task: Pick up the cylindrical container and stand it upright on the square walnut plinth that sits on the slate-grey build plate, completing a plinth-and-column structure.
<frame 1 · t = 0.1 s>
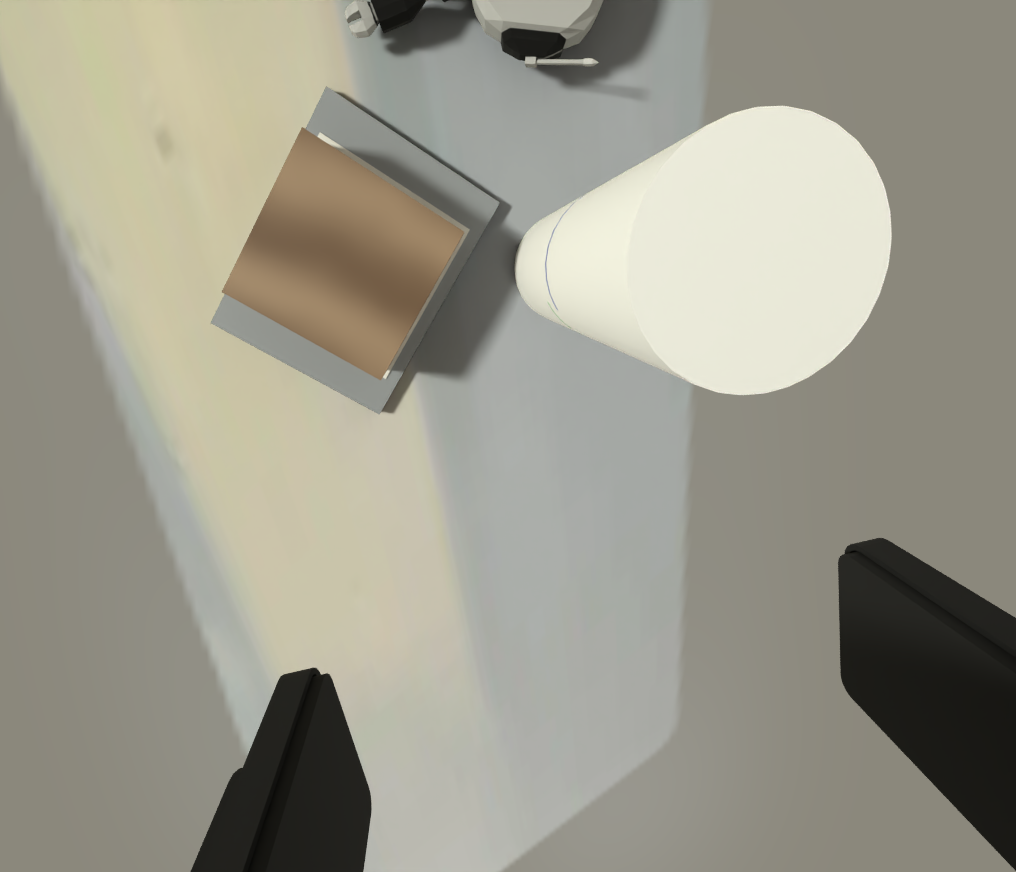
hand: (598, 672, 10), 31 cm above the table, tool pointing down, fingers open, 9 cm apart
cylindrical container: (566, 268, 39), on the table
plinth: (354, 263, 36), point 1 cm above the table, touching build plate
build plate: (356, 263, 37), on the table
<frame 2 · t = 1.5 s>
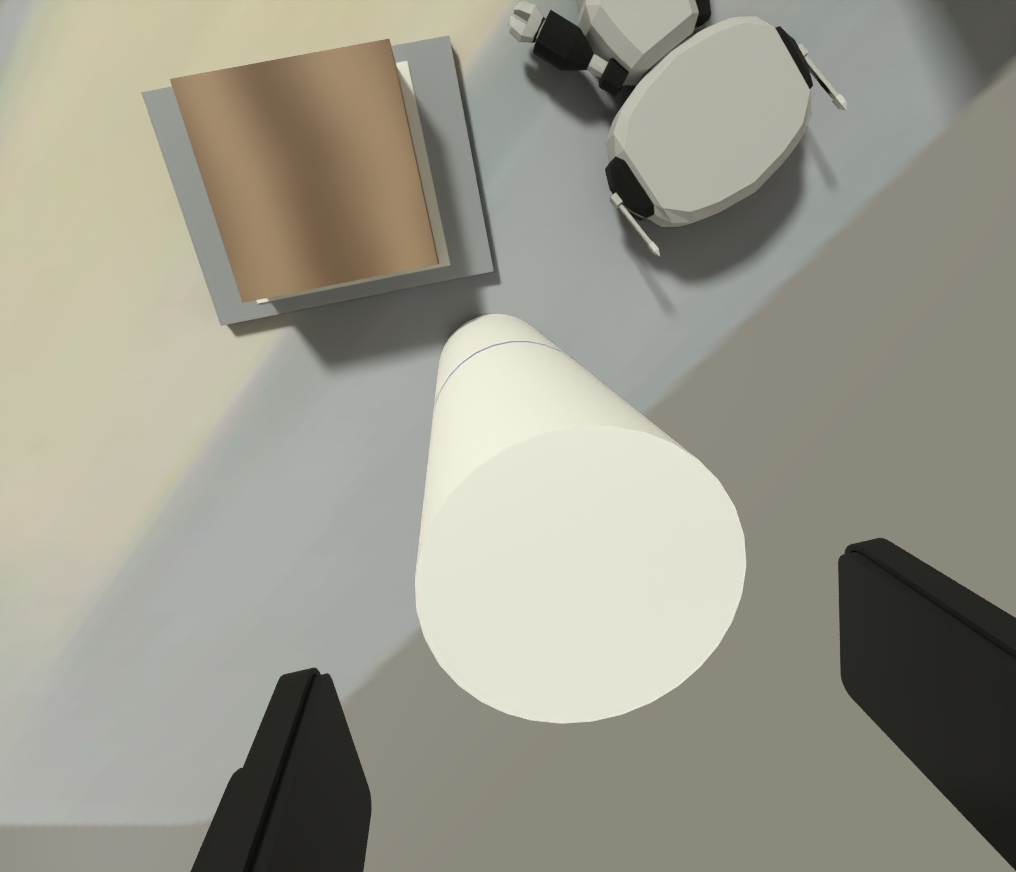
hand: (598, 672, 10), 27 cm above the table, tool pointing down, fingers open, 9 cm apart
cylindrical container: (495, 371, 36), on the table
plinth: (329, 187, 31), point 1 cm above the table, touching build plate
build plate: (332, 189, 32), on the table
robot toy: (654, 89, 33), on the table
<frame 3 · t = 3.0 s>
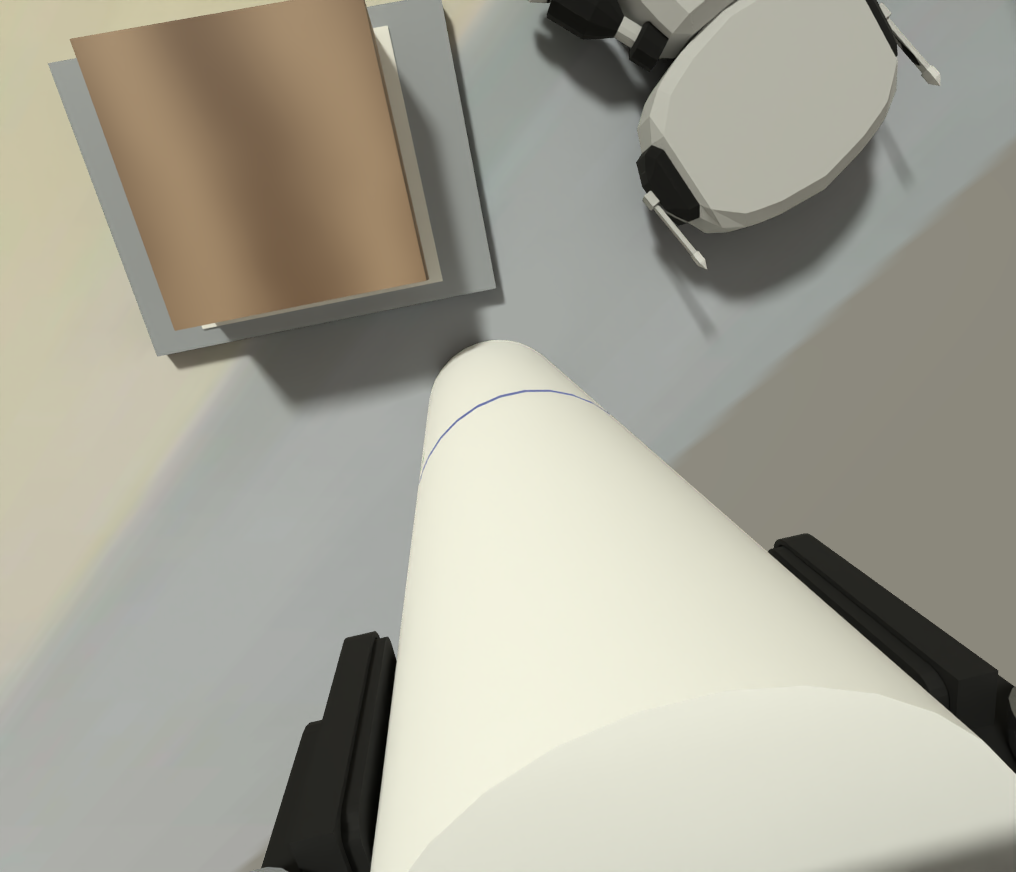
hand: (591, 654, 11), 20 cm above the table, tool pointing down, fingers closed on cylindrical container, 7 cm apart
cylindrical container: (498, 408, 30), on the table, touching gripper
plinth: (290, 184, 25), point 1 cm above the table, touching build plate
build plate: (295, 187, 26), on the table
robot toy: (694, 64, 27), on the table
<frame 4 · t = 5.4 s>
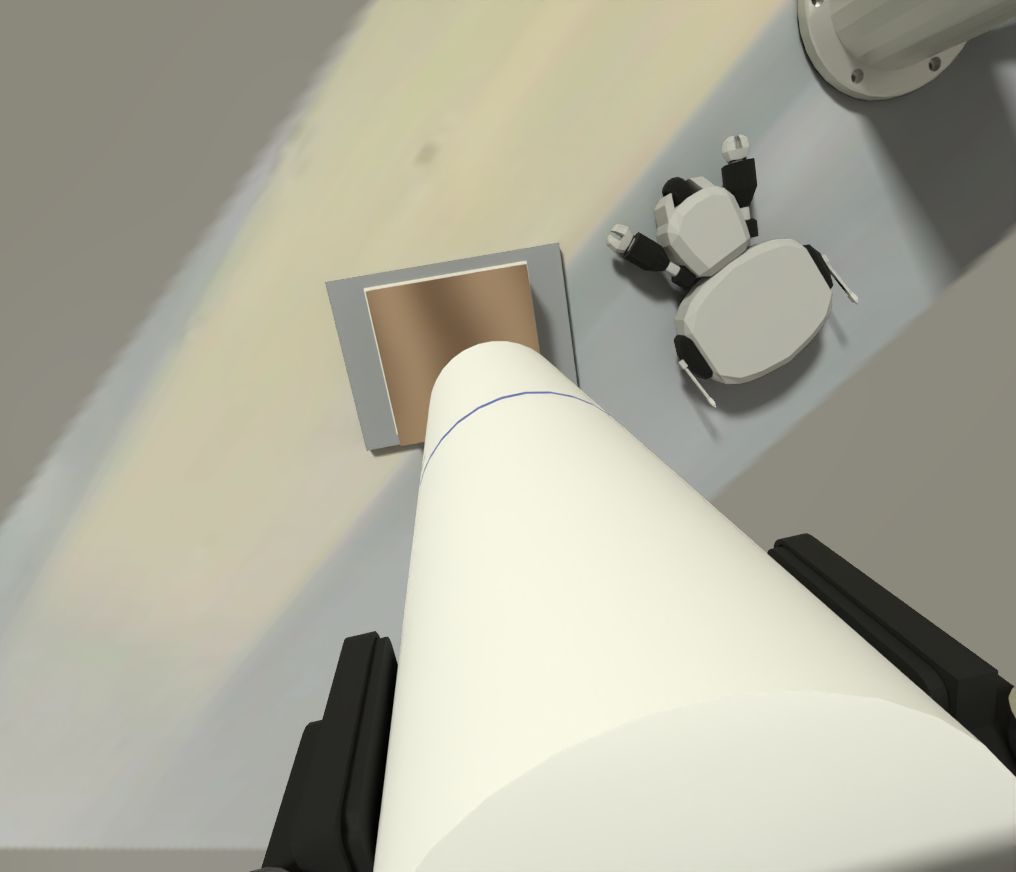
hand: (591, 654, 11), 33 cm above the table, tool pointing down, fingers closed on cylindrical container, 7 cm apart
cylindrical container: (498, 409, 30), point 12 cm above the table, touching gripper
plinth: (459, 350, 40), point 1 cm above the table, touching build plate
build plate: (459, 348, 41), on the table
robot toy: (710, 274, 42), on the table
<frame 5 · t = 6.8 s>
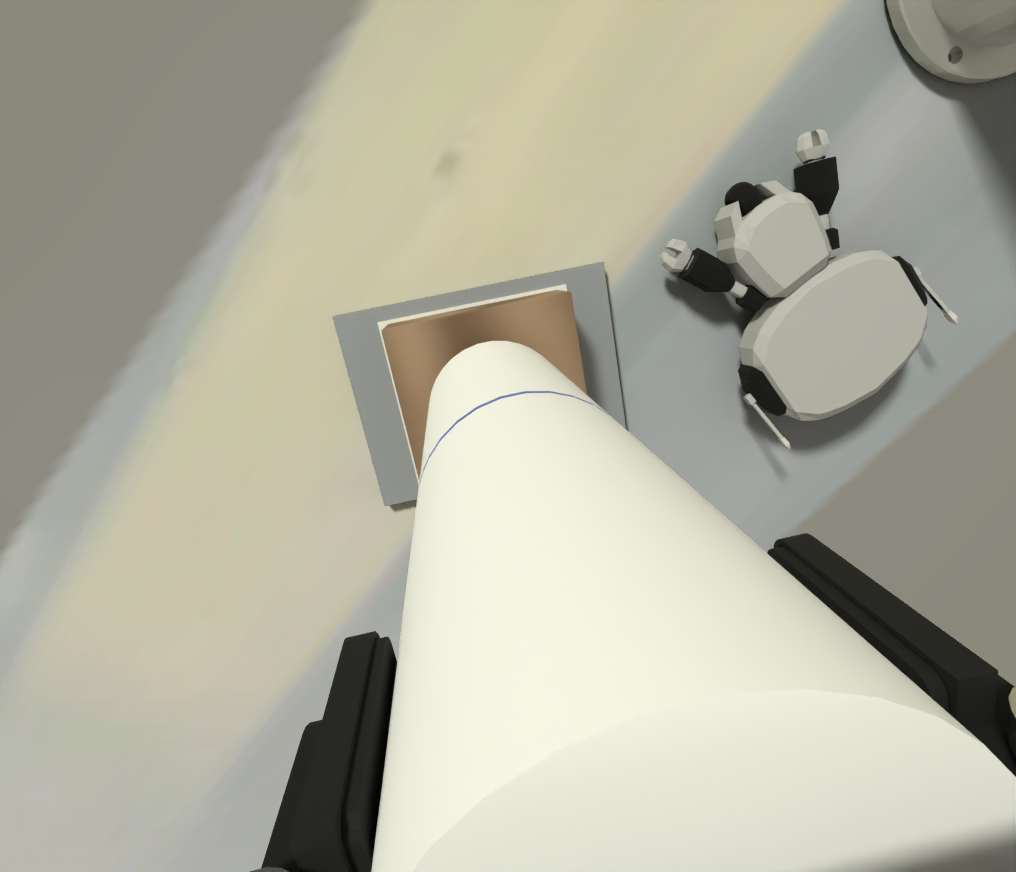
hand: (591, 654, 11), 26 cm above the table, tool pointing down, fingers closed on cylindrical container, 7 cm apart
cylindrical container: (498, 409, 30), point 6 cm above the table, touching gripper
plinth: (490, 389, 35), point 1 cm above the table, touching build plate
build plate: (488, 386, 36), on the table
robot toy: (776, 292, 36), on the table
when the fingers open (26 cm above the table, at t = 7.8 s): cylindrical container stays where it is, resting on plinth.
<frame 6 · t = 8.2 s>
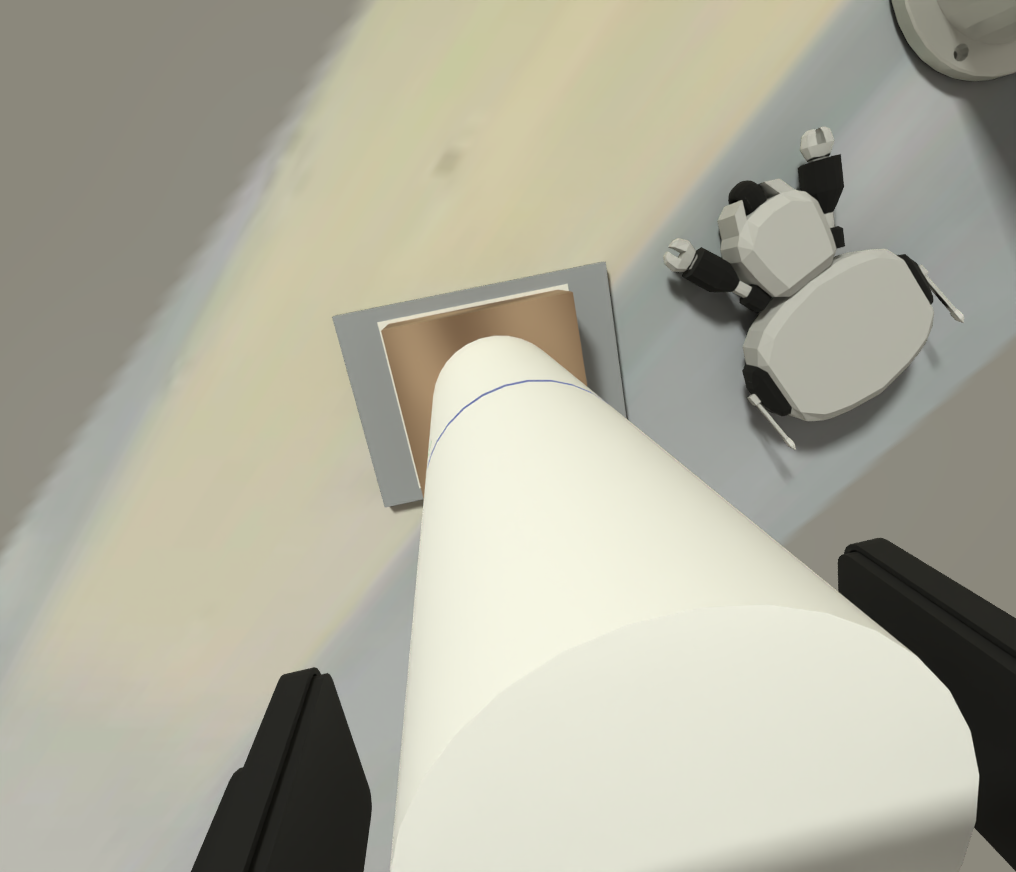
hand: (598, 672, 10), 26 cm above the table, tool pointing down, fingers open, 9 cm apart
cylindrical container: (499, 401, 31), point 5 cm above the table, touching plinth
plinth: (490, 389, 34), point 1 cm above the table, touching build plate, cylindrical container
build plate: (489, 386, 35), on the table
robot toy: (780, 291, 36), on the table
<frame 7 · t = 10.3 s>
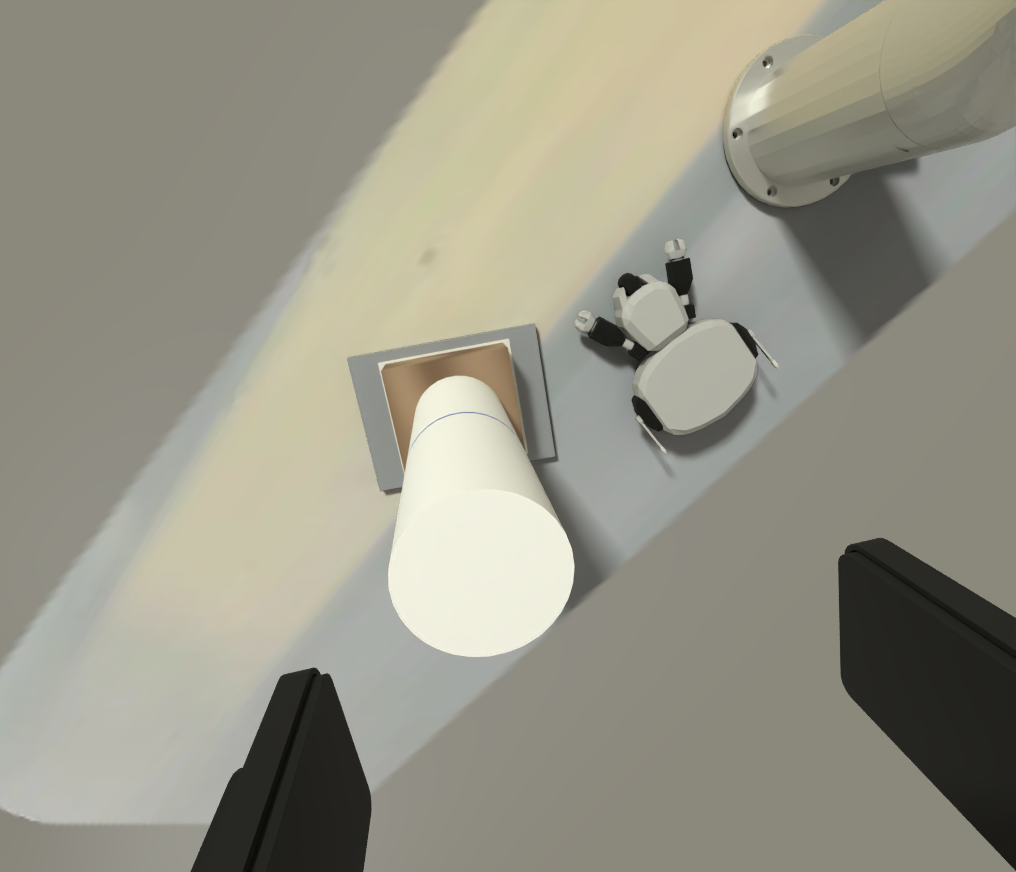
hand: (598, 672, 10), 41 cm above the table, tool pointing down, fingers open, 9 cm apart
cylindrical container: (459, 419, 46), point 5 cm above the table, touching plinth
plinth: (455, 409, 50), point 1 cm above the table, touching build plate, cylindrical container
build plate: (455, 407, 51), on the table
robot toy: (661, 343, 52), on the table
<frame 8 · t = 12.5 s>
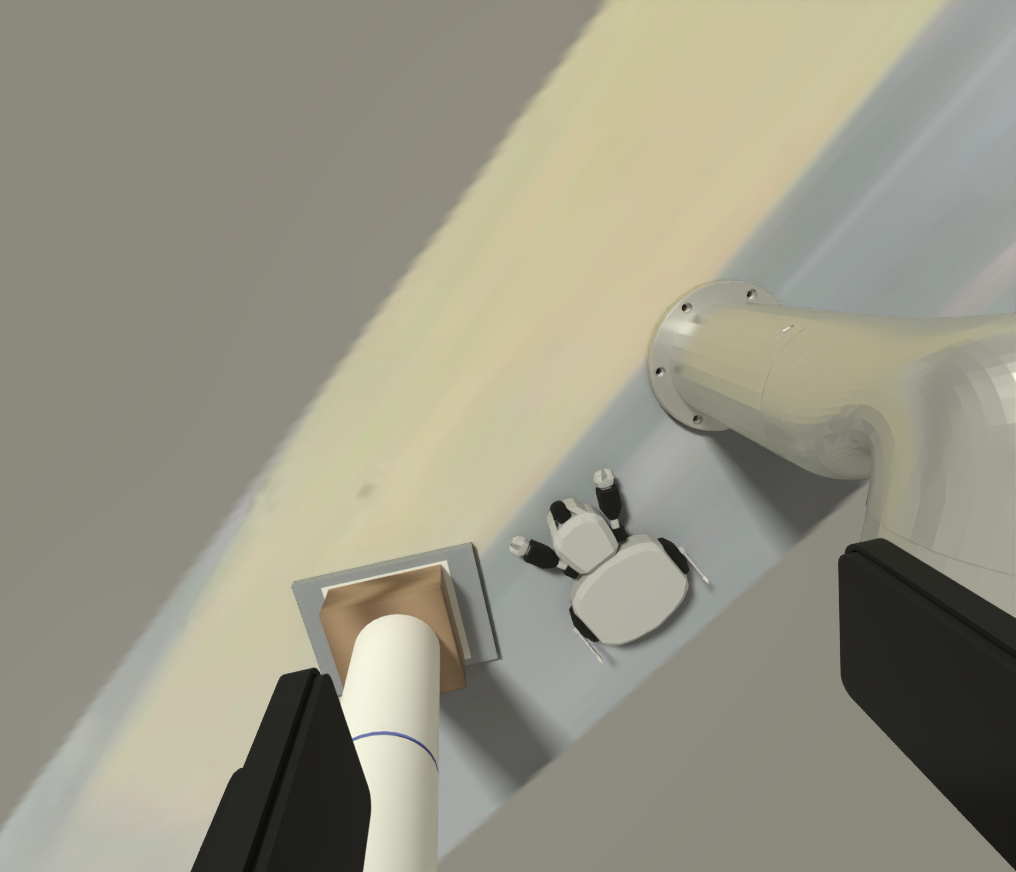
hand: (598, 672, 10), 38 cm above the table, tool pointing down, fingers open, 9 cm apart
cylindrical container: (397, 650, 48), point 5 cm above the table, touching plinth
plinth: (398, 624, 52), point 1 cm above the table, touching build plate, cylindrical container
build plate: (399, 618, 53), on the table
robot toy: (598, 550, 53), on the table
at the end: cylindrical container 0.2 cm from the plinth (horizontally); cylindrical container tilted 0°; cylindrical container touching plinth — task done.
